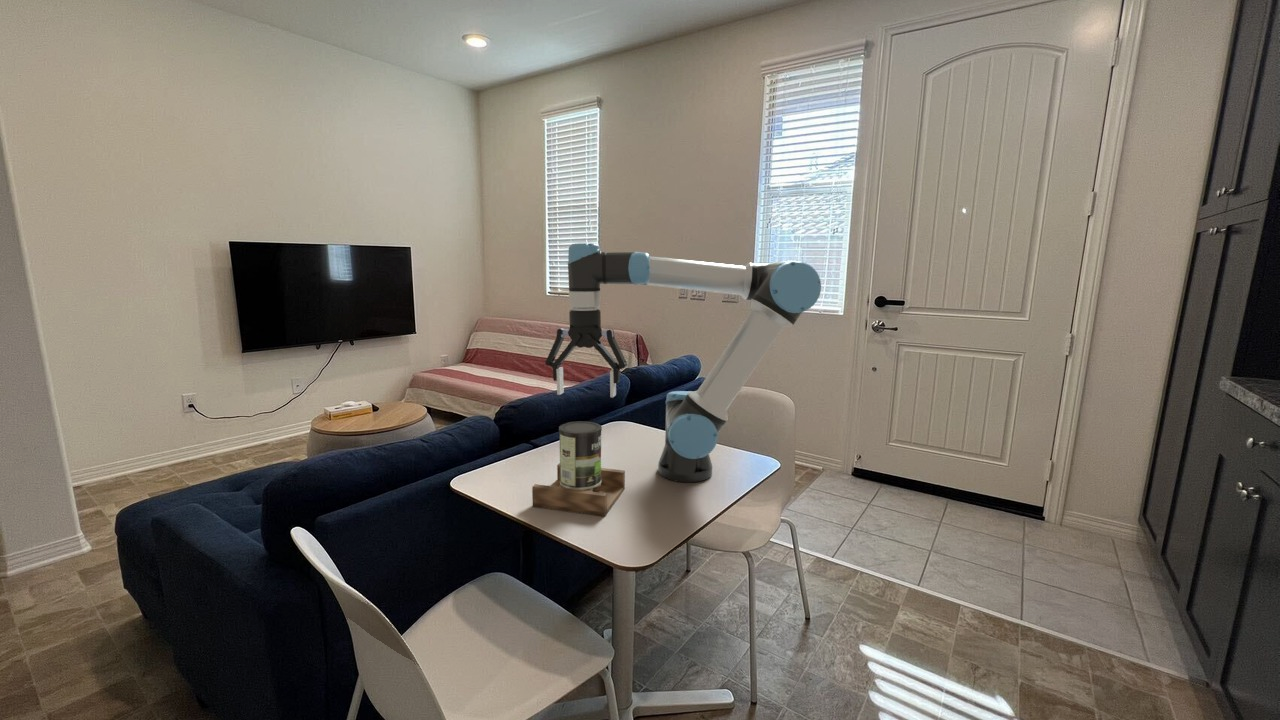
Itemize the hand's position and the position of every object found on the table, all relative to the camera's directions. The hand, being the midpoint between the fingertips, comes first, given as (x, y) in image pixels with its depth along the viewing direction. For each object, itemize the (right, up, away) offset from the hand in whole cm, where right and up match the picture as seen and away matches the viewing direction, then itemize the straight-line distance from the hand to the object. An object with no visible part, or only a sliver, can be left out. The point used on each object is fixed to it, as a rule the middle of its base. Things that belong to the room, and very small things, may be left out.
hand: (586, 395), depth 128 cm
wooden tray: (-1, -25, 0) cm, 25 cm away
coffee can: (-1, -22, -1) cm, 22 cm away
